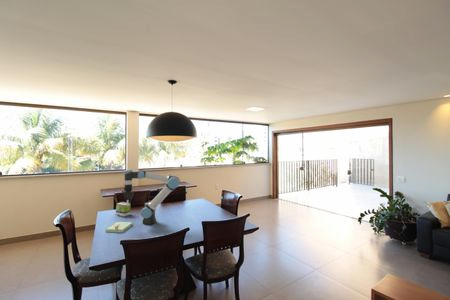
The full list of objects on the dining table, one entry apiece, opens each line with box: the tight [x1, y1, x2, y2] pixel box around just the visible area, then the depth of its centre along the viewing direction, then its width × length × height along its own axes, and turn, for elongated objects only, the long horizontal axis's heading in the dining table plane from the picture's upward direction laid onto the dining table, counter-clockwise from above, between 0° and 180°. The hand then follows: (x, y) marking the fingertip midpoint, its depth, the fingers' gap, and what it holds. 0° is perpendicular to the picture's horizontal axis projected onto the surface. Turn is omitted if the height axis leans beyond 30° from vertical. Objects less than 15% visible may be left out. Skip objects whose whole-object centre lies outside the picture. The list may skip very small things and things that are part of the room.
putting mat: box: [105, 221, 134, 234], centre depth 222 cm, size 17×22×3 cm
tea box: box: [115, 201, 131, 217], centre depth 269 cm, size 15×10×15 cm
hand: (128, 205), depth 226 cm, fingers closed
